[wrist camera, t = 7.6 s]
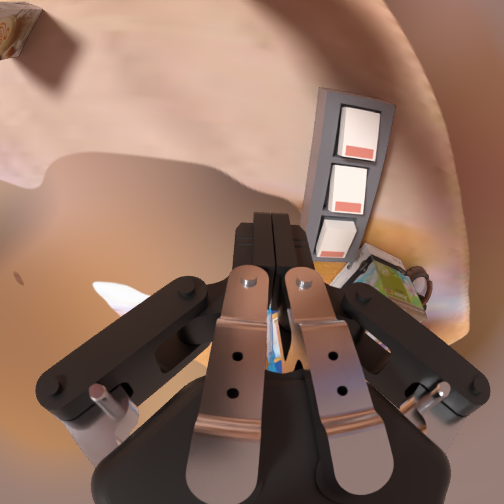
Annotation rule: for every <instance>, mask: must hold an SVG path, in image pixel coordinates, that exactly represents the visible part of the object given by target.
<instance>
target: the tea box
mask: <svg viewBox="0 0 504 504" xmlns="http://www.w3.org/2000/svg"><path fill="white" fill-rule="evenodd" d="M355 282H363V283H366V284H369V285H371V286H372V287H374V288H375V289H377V290H378V291H379V292H381V293H382V294H383V295H385V296H386V297H387V298H389V299H390V300H391V301H393V302H394V303H395V304H397V305H398V306H399V307H401V308H402V309H403V310H404V311H406V312H407V313H408V314H410V315H411V316H412V317H413V318H415V319H416V320H417V321H419V322H420V323H422V322H424V321H425V320H426V319H427V316H426V313H425V311H424V308H423V306H422V304H421V302H420V299H419V297H418V295H417V293H416V290H415V288H414V286H413V284H412V282H411V280H410V278H409V276H408V274H407V272H406V270H405V268H404V266H403V264H402V262H401V260H400V259H398V258H397V257H394V256H392V255H390V254H388V253H386V252H384V251H382V250H380V249H378V248H376V247H374V246H372V245H370V244H368V243H366V242H365V243H364V244H363V246H362V247H361V248H360V249H359V250H358V253H357V256H356V259H355V262H354V263H351V262H348V263H347V265H346V266H345V267H344V268H343V270H342V271H341V272H340V273H339V274H338V275H337V276H336V277H335V279H334V280H333V281H332V282H331V283H330V284H329V285H330V286H333V287H337V288H340V289H344V290H346V288H347V286H348V285H350V284H352V283H355ZM365 333H366V334H367V335H369V336H370V337H371V338H372V339H373V340H375V341H376V342H377V343H378V344H379V345H381V346H382V347H383V348H384V349H385V350H387V351H388V350H389V348H388V347H386V346H385V345H384V344H383V343H382V342H380V341H379V340H378V339H377V338H375V337H374V336H373V335H372V334H371V333H369V332H368V331H366V332H365Z"/></svg>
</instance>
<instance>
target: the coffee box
mask: <svg viewBox="0 0 504 504" xmlns="http://www.w3.org/2000/svg"><path fill="white" fill-rule="evenodd" d="M41 12H42V9H41V8H39V7H36V6H34V5H31V4H29V3H26V2H0V60H3V59H8V58H13V57H18V56H19V54H20V52H21V50H22V48H23V46H24V44H25V42H26V39H27V37H28V35H29V33H30V32H31V30H32V28H33V26H34V24H35V22H36V20H37V19H38V17H39V15H40V13H41Z"/></svg>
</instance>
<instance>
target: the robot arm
mask: <svg viewBox="0 0 504 504" xmlns="http://www.w3.org/2000/svg"><path fill="white" fill-rule="evenodd" d="M270 306H271V310H275V311H277V314H278V319H277V324H276V329H277V336H278V342H279V349H280V355H281V362H282V373H277V372H272V371H268V370H265V358H266V342H267V310H269V307H270ZM366 331H368V332H369V333H371V334H372V335H373V336H374V337H375V338H377V339H378V340H379V341H380V342H382V343H383V344H384V345H385V346H386V347H388V348H389V350H390V351H391V353H389V352H388V351H387V350H385V349H384V348H383V347H382V346H381V345H379V344H378V343H377V342H376V341H375V340H373V339H372V338H371V337H370V336H369V335H367V334H366V333H365V332H366ZM212 341H213V342H212ZM211 342H212V347H211V352H210V357H209V362H208V367H207V372H206V375H205V376H203V377H200V378H197V379H195V380H194V381H192V382H190V383H188V384H187V385H186V386H184V387H183V388H182V389H181V390H180V391H179V392H178V393H177V394H175V395H174V396H173V397H172V398H171V399H170V400H169V401H168V402H167V403H166V404H165V405H164V406H163V407H161V408H160V409H159V410H158V411H157V412H156V413H155V414H154V415H153V416H152V417H151V418H149V419H148V420H147V421H146V422H145V423H144V424H143V425H142V426H141V427H139V428H138V429H137V430H136V431H135V432H134V433H133V434H131V435H130V436H129V434H130V432H131V430H132V429H133V428H134V427H135V426H136V424H137V422H138V419H139V411H138V408H137V406H139V405H140V404H141V403H143V402H144V401H145V400H146V399H147V398H149V397H150V396H151V395H152V394H153V393H155V392H156V391H157V390H158V389H159V388H161V387H162V386H163V385H164V384H165V383H166V382H168V381H169V380H170V379H171V378H172V377H174V376H175V375H176V374H177V373H178V372H180V371H181V370H182V369H183V368H184V367H185V366H186V365H188V363H190V362H191V361H192V360H193V359H195V358H196V357H197V356H198V355H199V354H200V353H201V352H203V351H204V350H205V349H206V348H207V347H208V346H209V345H210V343H211ZM366 380H367V381H368V382H369V383H370V384H369V383H368V382H367V381H366ZM374 387H375V388H376V389H377V390H378V391H377V390H376V389H375V388H374ZM382 394H383V395H384V396H385V397H386V398H387V399H388V400H390V401H391V402H392V403H393V404H394V405H395V406H397V407H398V408H399V409H400V411H399V410H398V409H397V408H396V407H395V406H394V405H393V404H391V403H390V402H389V401H388V400H387V399H386V398H385V397H384V396H383V395H382ZM36 397H37V399H38V401H39V403H40V404H41V405H42V406H43V407H44V408H45V409H47V410H48V411H49V412H51V413H52V414H53V415H54V416H55V417H56V418H57V419H58V420H60V421H61V422H63V424H64V425H65V426H66V428H67V430H68V431H69V433H70V434H71V436H72V437H73V439H74V440H75V442H76V443H77V444H78V446H79V447H80V449H81V450H82V451H83V453H84V454H85V455H86V457H87V458H88V460H89V461H90V462H91V463H92V464H93V466H94V467H95V471H94V473H93V476H92V480H91V492H92V497H93V500H94V503H95V504H444V500H445V496H446V493H447V490H448V487H449V483H450V478H451V469H450V463H449V460H448V458H447V456H446V453H447V451H448V449H449V448H450V446H451V444H452V442H453V441H454V439H455V437H456V435H457V434H458V431H459V430H460V428H461V426H462V424H463V422H464V420H465V418H466V417H467V416H468V415H470V414H471V413H472V412H474V411H475V410H477V409H478V408H479V407H481V406H482V405H483V404H485V403H486V402H487V401H488V399H489V397H490V386H489V382H488V380H487V378H486V377H485V376H484V375H483V374H482V373H481V372H480V371H479V370H477V369H476V368H475V367H474V366H473V365H472V364H470V363H469V362H468V361H467V360H466V359H464V358H463V357H462V356H461V355H459V354H458V353H457V352H456V351H455V350H454V349H452V348H451V347H450V346H449V345H447V344H446V343H445V342H444V341H443V340H441V339H440V338H439V337H438V336H436V335H435V334H434V333H433V332H431V331H430V330H429V329H428V328H426V327H425V326H424V325H422V324H421V323H420V322H419V321H417V320H416V319H415V318H413V317H412V316H411V315H410V314H408V313H407V312H406V311H404V310H403V309H402V308H401V307H399V306H398V305H397V304H395V303H394V302H393V301H391V300H390V299H389V298H387V297H386V296H385V295H383V294H382V293H381V292H379V291H378V290H377V289H375V288H374V287H372V286H371V285H369V284H366V283H363V282H355V283H352V284H350V285H348V286H347V288H346V290H344V289H340V288H337V287H333V286H330V285H328V284H326V283H324V281H323V278H322V277H321V275H320V274H319V273H318V272H316V271H315V268H314V264H313V260H312V256H311V251H310V248H309V243H308V239H307V235H306V232H305V231H304V230H303V229H302V228H301V227H300V226H299V225H290V221H289V215H288V214H287V213H271V214H270V213H265V212H254V215H253V223H240V225H239V226H238V227H237V228H236V233H235V244H234V255H233V267H232V271H231V272H230V275H229V276H228V277H227V278H226V279H224V280H222V281H220V282H217V283H214V284H208V285H206V284H205V283H204V281H202V280H201V279H199V278H197V277H193V276H184V277H179V278H177V279H175V280H173V281H172V282H170V283H169V284H168V285H166V286H165V287H163V288H162V289H160V290H159V291H157V292H156V293H154V294H153V295H152V296H150V297H149V298H147V299H146V300H144V301H143V302H142V303H140V304H139V305H137V306H136V307H134V308H133V309H132V310H130V311H129V312H127V313H126V314H124V315H123V316H122V317H120V318H119V319H117V320H116V321H115V322H113V323H112V324H110V325H109V326H108V327H106V328H105V329H103V330H102V331H100V332H99V333H98V334H96V335H95V336H94V337H92V338H91V339H89V340H88V341H87V342H85V343H84V344H82V345H81V346H80V347H79V348H77V349H76V350H74V351H73V352H72V353H70V354H69V355H67V356H66V357H65V358H63V359H62V360H60V361H59V362H58V363H56V364H55V365H54V366H52V367H51V368H50V369H48V370H47V371H46V372H44V373H43V374H42V375H41V376H40V378H39V379H38V381H37V385H36ZM128 436H129V437H128Z"/></svg>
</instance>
